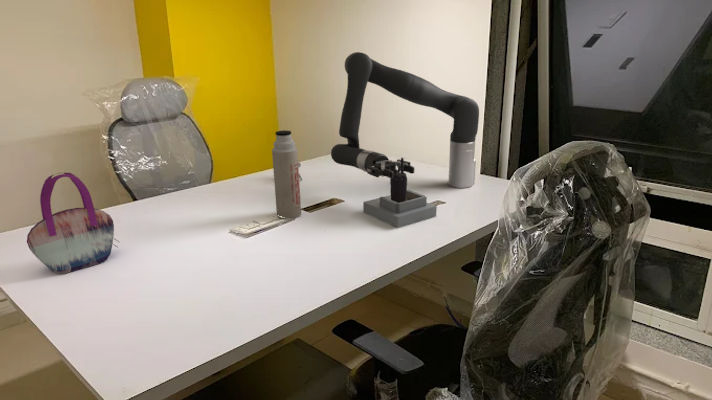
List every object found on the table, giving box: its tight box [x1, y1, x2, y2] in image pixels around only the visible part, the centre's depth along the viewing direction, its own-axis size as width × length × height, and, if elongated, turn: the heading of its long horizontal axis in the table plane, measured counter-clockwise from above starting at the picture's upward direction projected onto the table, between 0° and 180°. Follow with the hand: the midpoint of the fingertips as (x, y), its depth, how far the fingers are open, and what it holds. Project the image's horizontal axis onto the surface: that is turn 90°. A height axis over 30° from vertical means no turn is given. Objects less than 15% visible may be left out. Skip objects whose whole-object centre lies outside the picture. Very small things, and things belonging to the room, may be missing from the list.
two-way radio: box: [389, 157, 408, 203], centre depth 164 cm, size 6×4×15 cm
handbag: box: [26, 172, 120, 275], centre depth 134 cm, size 21×10×25 cm, turn 131°
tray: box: [362, 189, 438, 229], centre depth 167 cm, size 16×18×6 cm
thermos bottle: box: [271, 129, 302, 220], centre depth 165 cm, size 8×8×28 cm
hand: (403, 172), depth 162 cm, fingers open, 8 cm apart
